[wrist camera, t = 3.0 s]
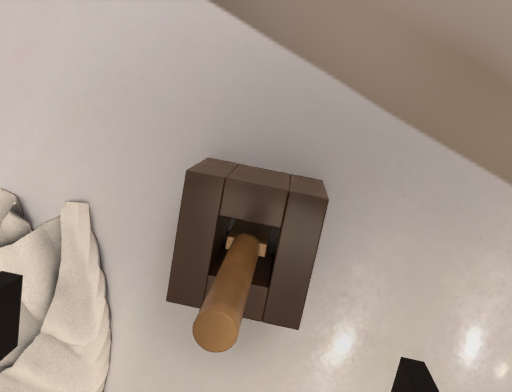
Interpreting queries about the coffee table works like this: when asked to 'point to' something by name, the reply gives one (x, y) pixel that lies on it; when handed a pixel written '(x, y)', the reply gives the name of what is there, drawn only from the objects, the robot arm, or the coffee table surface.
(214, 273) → the holder
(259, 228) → the stick
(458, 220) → the coffee table surface
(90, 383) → the cloth
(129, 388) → the coffee table surface
